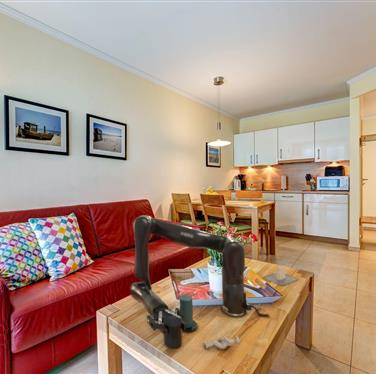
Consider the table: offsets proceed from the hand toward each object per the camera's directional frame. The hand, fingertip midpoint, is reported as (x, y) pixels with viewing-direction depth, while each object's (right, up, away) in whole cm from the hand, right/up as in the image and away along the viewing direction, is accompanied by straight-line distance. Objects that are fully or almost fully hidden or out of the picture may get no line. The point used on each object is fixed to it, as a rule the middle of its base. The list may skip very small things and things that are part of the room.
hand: (175, 330), depth 83 cm
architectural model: (+71, -4, +56) cm, 90 cm away
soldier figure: (+17, -8, +1) cm, 18 cm away
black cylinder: (-1, -6, +2) cm, 6 cm away
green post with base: (+7, -7, +15) cm, 18 cm away
